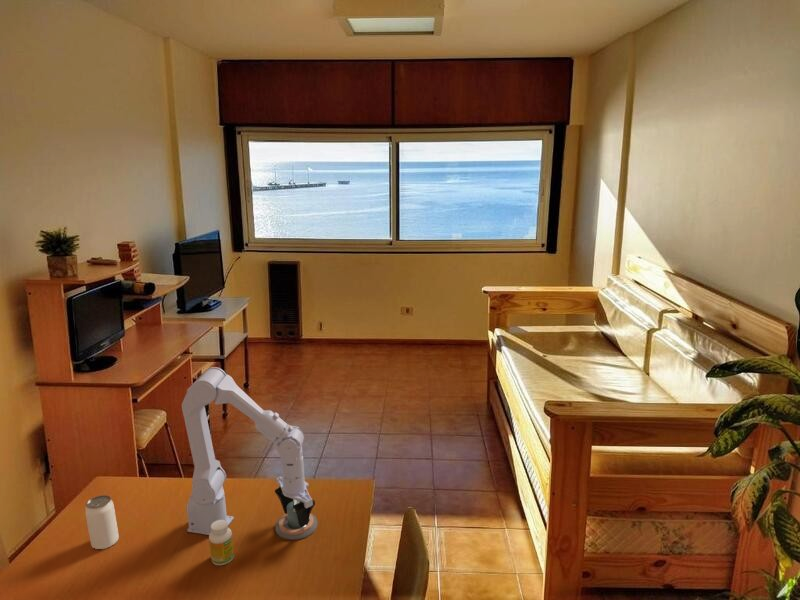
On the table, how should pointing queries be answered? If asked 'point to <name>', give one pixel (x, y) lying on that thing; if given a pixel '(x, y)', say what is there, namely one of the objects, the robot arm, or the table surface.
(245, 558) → the table surface
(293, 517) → the cylinder with tan strip
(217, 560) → the supplement bottle
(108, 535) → the can
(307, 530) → the socket
